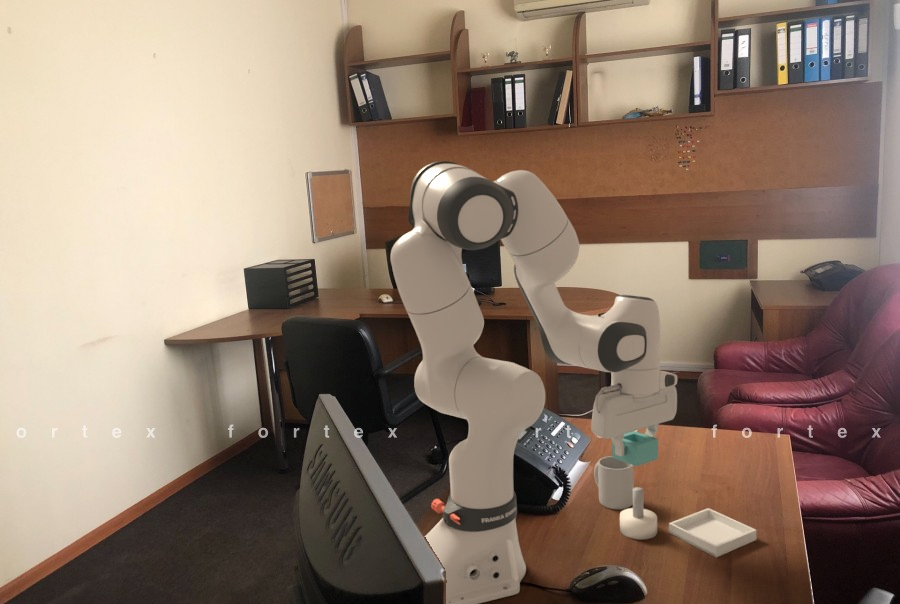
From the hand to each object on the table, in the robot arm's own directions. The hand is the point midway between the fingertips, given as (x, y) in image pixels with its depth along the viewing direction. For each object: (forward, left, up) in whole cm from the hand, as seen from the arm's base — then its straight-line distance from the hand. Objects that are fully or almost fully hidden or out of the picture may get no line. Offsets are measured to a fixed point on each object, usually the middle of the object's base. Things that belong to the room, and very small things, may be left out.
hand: (634, 450), depth 132 cm
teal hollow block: (0, 0, -2) cm, 2 cm away
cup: (+6, +13, -17) cm, 22 cm away
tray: (+10, -10, -16) cm, 22 cm away
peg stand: (+1, 0, -16) cm, 16 cm away
